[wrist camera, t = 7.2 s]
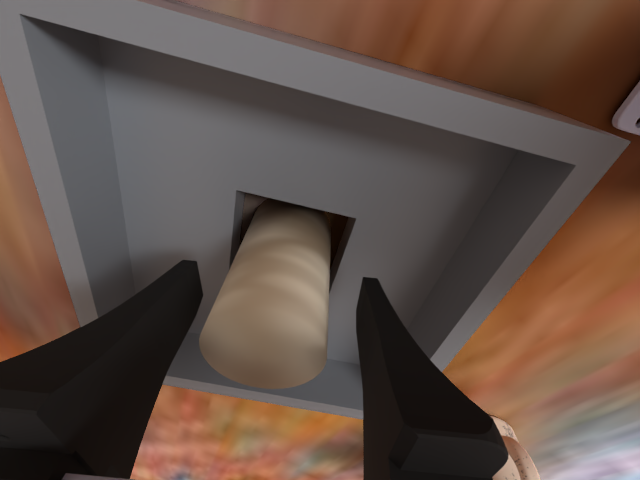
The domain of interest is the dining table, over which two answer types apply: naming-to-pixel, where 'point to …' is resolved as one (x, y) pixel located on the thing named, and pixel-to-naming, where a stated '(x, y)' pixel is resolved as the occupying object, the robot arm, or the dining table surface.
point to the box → (281, 171)
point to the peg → (274, 301)
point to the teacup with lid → (514, 457)
